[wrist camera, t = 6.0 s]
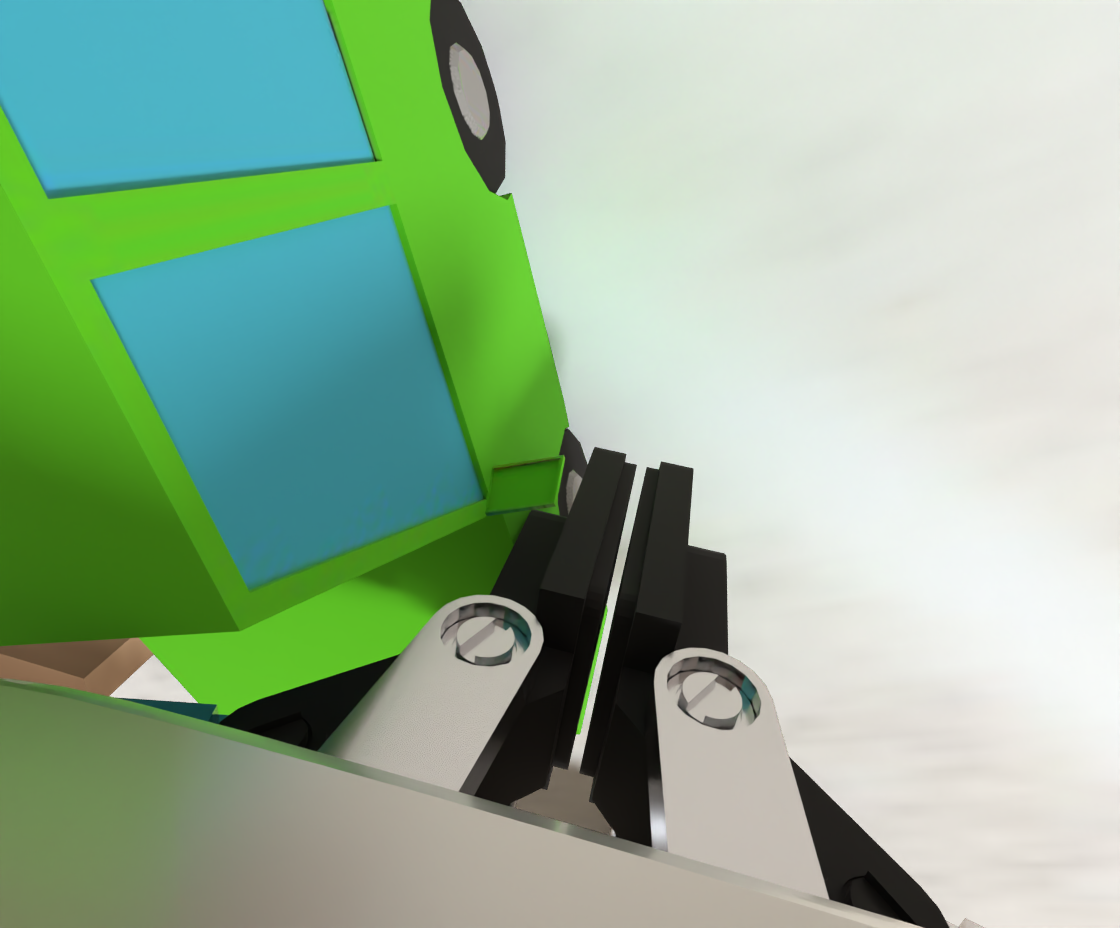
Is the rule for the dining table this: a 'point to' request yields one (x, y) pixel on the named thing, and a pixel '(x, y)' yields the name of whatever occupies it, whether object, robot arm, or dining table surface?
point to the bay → (75, 663)
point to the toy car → (261, 334)
